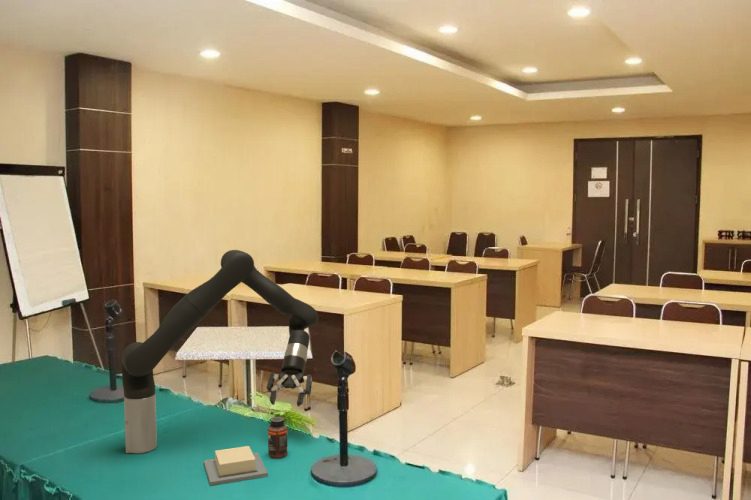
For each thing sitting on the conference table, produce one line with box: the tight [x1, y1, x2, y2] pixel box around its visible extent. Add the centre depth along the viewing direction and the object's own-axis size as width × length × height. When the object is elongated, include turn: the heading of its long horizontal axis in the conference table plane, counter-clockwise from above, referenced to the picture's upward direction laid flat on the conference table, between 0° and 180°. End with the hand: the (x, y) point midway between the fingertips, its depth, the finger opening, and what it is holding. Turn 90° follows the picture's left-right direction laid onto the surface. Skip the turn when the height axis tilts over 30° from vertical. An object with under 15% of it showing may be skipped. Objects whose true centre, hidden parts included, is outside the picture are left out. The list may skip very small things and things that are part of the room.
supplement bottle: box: [267, 416, 289, 459], centre depth 195 cm, size 6×6×11 cm
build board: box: [203, 445, 269, 486], centre depth 184 cm, size 16×15×4 cm
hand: (285, 404), depth 202 cm, fingers open, 8 cm apart
